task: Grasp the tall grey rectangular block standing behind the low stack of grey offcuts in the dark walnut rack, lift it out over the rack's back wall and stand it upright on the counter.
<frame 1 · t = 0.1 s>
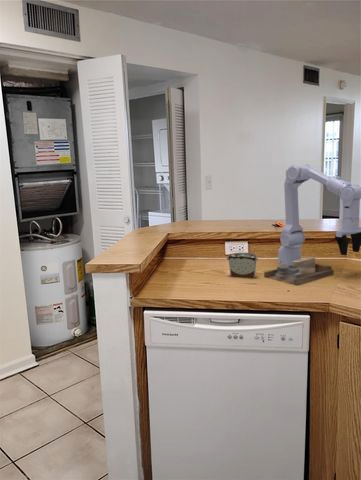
hand: (349, 253, 157), 10 cm above the table, tool pointing down, fingers open, 7 cm apart
offcut stack: (288, 278, 159), point 1 cm above the table, touching walnut rack
food container: (244, 278, 166), on the table
grey rectangular block: (303, 274, 164), point 1 cm above the table, touching walnut rack
walnut rack: (298, 278, 163), on the table
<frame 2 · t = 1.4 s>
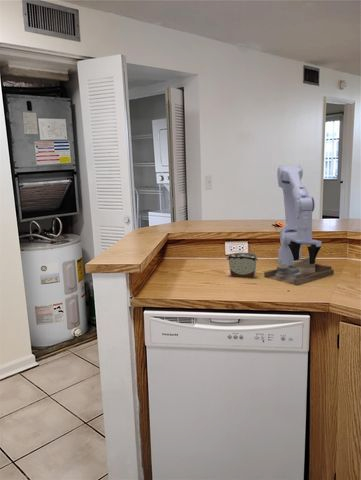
hand: (304, 262, 163), 6 cm above the table, tool pointing down, fingers open, 7 cm apart
nothing on the table moved.
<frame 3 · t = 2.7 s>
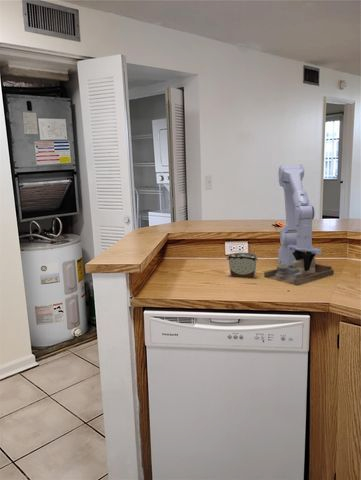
hand: (303, 269, 164), 3 cm above the table, tool pointing down, fingers closed on grey rectangular block, 2 cm apart
grey rectangular block: (303, 274, 164), point 1 cm above the table, touching gripper, walnut rack
everything else where it was.
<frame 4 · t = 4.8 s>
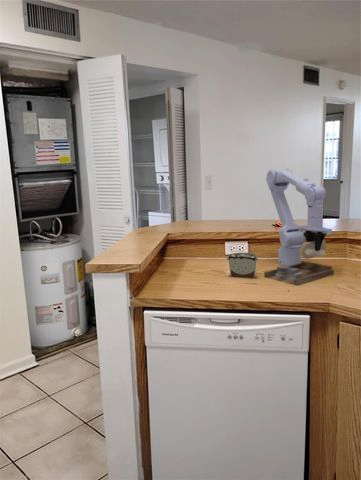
hand: (314, 250, 166), 10 cm above the table, tool pointing down, fingers closed on grey rectangular block, 2 cm apart
grey rectangular block: (314, 256, 167), point 7 cm above the table, touching gripper
everything else where it was.
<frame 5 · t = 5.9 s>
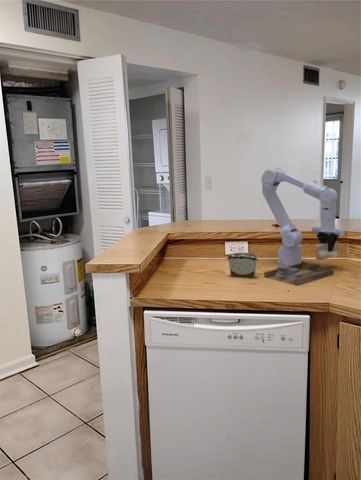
hand: (327, 250, 171), 8 cm above the table, tool pointing down, fingers closed on grey rectangular block, 2 cm apart
grey rectangular block: (326, 257, 172), point 6 cm above the table, touching gripper
everything else where it was.
when the fingers open (3 cm above the table, at t = 6.9 s): grey rectangular block stays where it is, on the table.
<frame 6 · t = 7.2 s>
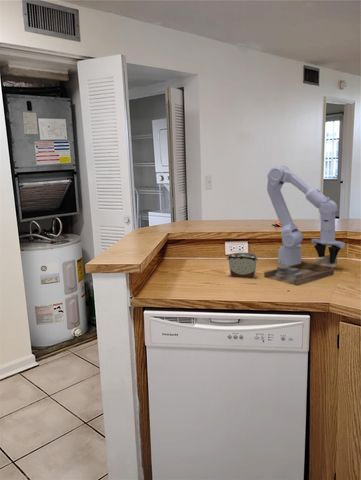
hand: (327, 262, 172), 3 cm above the table, tool pointing down, fingers open, 4 cm apart
grey rectangular block: (326, 270, 173), on the table
everything else where it was.
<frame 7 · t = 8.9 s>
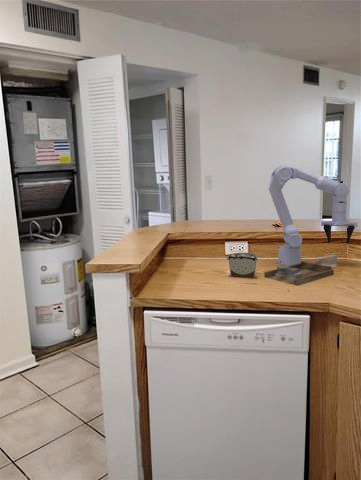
hand: (338, 242, 178), 10 cm above the table, tool pointing down, fingers open, 7 cm apart
nothing on the table moved.
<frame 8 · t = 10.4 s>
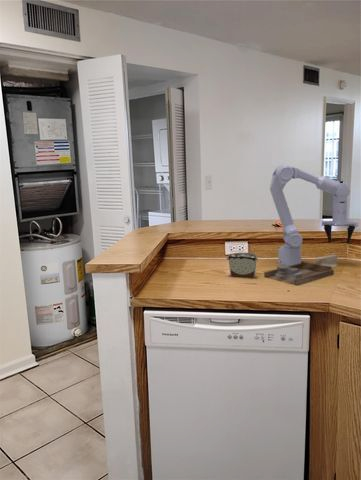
hand: (339, 242, 179), 10 cm above the table, tool pointing down, fingers open, 7 cm apart
nothing on the table moved.
at the end: grey rectangular block inside the target area (0.8 cm from its centre), on the table; grey rectangular block tilted 0°; the gripper is holding nothing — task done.
